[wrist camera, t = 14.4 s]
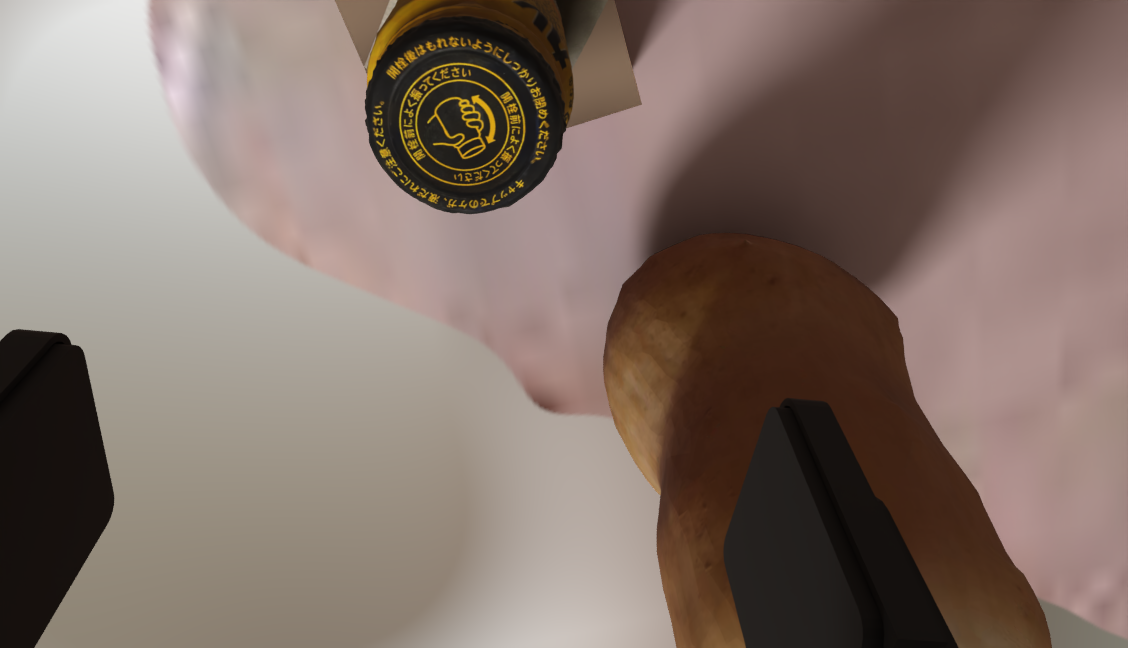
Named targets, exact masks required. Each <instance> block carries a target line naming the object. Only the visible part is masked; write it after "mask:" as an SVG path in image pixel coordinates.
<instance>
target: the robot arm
mask: <svg viewBox="0 0 1128 648" xmlns="http://www.w3.org/2000/svg"><path fill="white" fill-rule="evenodd" d="M113 506H114V492H113V487H112V483H111V478H110V473H109V469H108V464H107V459H106V454H105V449H104V445H103V440H102V436H101V431H100V426H99V422H98V416H97V412H96V407H95V402H94V398H93V393H92V388H91V383H90V379H89V374H88V369H87V364H86V360H85V355H84V352H83V350H82V349H81V348H80V347H79V346H76V345H71V342H70V340H69V338H68V337H67V336H66V335H64V334H62V333H54V332H43V331H31V330H21V329H18V330H12V331H11V332H10V333H8V334H7V335H6V336H5V337H4V338H3V339H2V340H1V341H0V648H34V647H35V645H36V644H37V642H38V640H39V639H40V637H41V635H42V634H43V632H44V630H45V629H46V627H47V625H48V623H49V622H50V620H51V619H52V617H53V615H54V613H55V612H56V610H57V608H58V607H59V605H60V603H61V602H62V600H63V598H64V597H65V595H66V593H67V591H68V590H69V588H70V586H71V585H72V583H73V581H74V580H75V577H76V576H77V575H78V573H79V571H80V570H81V568H82V566H83V564H84V563H85V561H86V559H87V558H88V556H89V554H90V553H91V551H92V549H93V548H94V546H95V544H96V542H97V541H98V539H99V537H100V536H101V534H102V532H103V531H104V529H105V527H106V526H107V524H108V522H109V520H110V518H111V514H112V512H113ZM723 556H724V564H725V568H726V572H727V576H728V580H729V584H730V588H731V591H732V595H733V599H734V603H735V607H736V611H737V615H738V619H739V623H740V627H741V630H742V634H743V638H744V642H745V646H746V648H959V647H958V645H957V643H956V641H955V639H954V637H953V635H952V633H951V631H950V630H949V628H948V626H947V624H946V622H945V620H944V618H943V616H942V614H941V612H940V610H939V608H938V606H937V604H936V602H935V600H934V598H933V596H932V594H931V592H930V590H929V588H928V586H927V584H926V582H925V580H924V579H923V577H922V575H921V573H920V571H919V569H918V567H917V565H916V563H915V561H914V559H913V557H912V555H911V553H910V551H909V549H908V547H907V545H906V543H905V541H904V539H903V537H902V535H901V533H900V531H899V529H898V527H897V526H896V524H895V522H894V520H893V518H892V516H891V514H890V512H889V510H888V508H887V507H886V506H885V504H884V503H883V501H882V500H880V499H878V498H877V497H875V495H874V493H873V491H872V489H871V487H870V485H869V483H868V481H867V479H866V477H865V475H864V473H863V471H862V469H861V467H860V465H859V463H858V461H857V459H856V457H855V455H854V453H853V451H852V449H851V447H850V445H849V443H848V441H847V439H846V437H845V435H844V433H843V431H842V429H841V427H840V425H839V423H838V421H837V419H836V417H835V415H834V413H833V411H832V409H831V407H830V406H829V404H828V403H827V402H825V401H817V400H806V399H794V398H786V399H784V400H783V402H782V403H781V405H780V407H771V408H770V409H769V410H768V412H767V414H766V417H765V420H764V423H763V426H762V429H761V432H760V435H759V438H758V441H757V444H756V447H755V450H754V453H753V456H752V459H751V462H750V465H749V468H748V471H747V474H746V477H745V480H744V483H743V486H742V489H741V492H740V494H739V497H738V500H737V503H736V506H735V509H734V512H733V515H732V518H731V521H730V524H729V527H728V530H727V533H726V536H725V540H724V548H723Z"/></svg>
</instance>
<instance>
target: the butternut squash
mask: <svg viewBox="0 0 1128 648" xmlns="http://www.w3.org/2000/svg"><path fill="white" fill-rule="evenodd" d="M603 372H604V383H605V387H606V392H607V397H608V401H609V406H610V409H611V413H612V416H613V419H614V423H615V426H616V428H617V430H618V432H619V434H620V436H621V437H622V439H623V441H624V443H625V445H626V447H627V449H628V451H629V453H630V455H631V457H632V458H633V460H634V462H635V463H636V465H637V466H638V468H639V469H640V470H641V472H642V473H643V475H644V476H645V478H646V479H647V481H648V482H649V483H650V484H651V486H652V487H653V488H654V489H655V491H656V492H657V493H658V494H660V495H661V496H660V507H659V516H658V523H657V555H658V561H659V567H660V573H661V579H662V584H663V590H664V594H665V598H666V602H667V606H668V610H669V613H670V618H671V622H672V626H673V632H674V637H675V642H676V647H677V648H746V646H745V642H744V638H743V634H742V630H741V627H740V623H739V619H738V615H737V611H736V607H735V603H734V599H733V595H732V591H731V588H730V584H729V580H728V576H727V572H726V568H725V564H724V556H723V548H724V540H725V536H726V533H727V530H728V527H729V524H730V521H731V518H732V515H733V512H734V509H735V506H736V503H737V500H738V497H739V494H740V492H741V489H742V486H743V483H744V480H745V477H746V474H747V471H748V468H749V465H750V462H751V459H752V456H753V453H754V450H755V447H756V444H757V441H758V438H759V435H760V432H761V429H762V426H763V423H764V420H765V417H766V414H767V412H768V410H769V409H770V408H771V407H780V405H781V403H782V402H783V400H784V399H786V398H794V399H806V400H817V401H825V402H827V403H828V404H829V406H830V407H831V409H832V411H833V413H834V415H835V417H836V419H837V421H838V423H839V425H840V427H841V429H842V431H843V433H844V435H845V437H846V439H847V441H848V443H849V445H850V447H851V449H852V451H853V453H854V455H855V457H856V459H857V461H858V463H859V465H860V467H861V469H862V471H863V473H864V475H865V477H866V479H867V481H868V483H869V485H870V487H871V489H872V491H873V493H874V495H875V497H877V498H878V499H880V500H882V501H883V503H884V504H885V506H886V507H887V508H888V510H889V512H890V514H891V516H892V518H893V520H894V522H895V524H896V526H897V527H898V529H899V531H900V533H901V535H902V537H903V539H904V541H905V543H906V545H907V547H908V549H909V551H910V553H911V555H912V557H913V559H914V561H915V563H916V565H917V567H918V569H919V571H920V573H921V575H922V577H923V579H924V580H925V582H926V584H927V586H928V588H929V590H930V592H931V594H932V596H933V598H934V600H935V602H936V604H937V606H938V608H939V610H940V612H941V614H942V616H943V618H944V620H945V622H946V624H947V626H948V628H949V630H950V631H951V633H952V635H953V637H954V639H955V641H956V643H957V645H958V647H959V648H1052V645H1051V638H1050V633H1049V629H1048V625H1047V621H1046V618H1045V614H1044V612H1043V610H1042V608H1041V606H1040V604H1039V602H1038V600H1037V597H1036V595H1035V593H1034V591H1033V589H1032V588H1031V586H1030V584H1029V582H1028V581H1027V579H1026V577H1025V576H1024V574H1023V573H1022V572H1021V571H1020V570H1019V569H1018V568H1016V567H1015V565H1014V563H1013V562H1012V560H1011V559H1010V557H1009V556H1008V554H1007V553H1006V551H1005V549H1004V547H1003V545H1002V543H1001V541H1000V539H999V537H998V535H997V533H996V531H995V529H994V526H993V524H992V522H991V520H990V518H989V516H988V514H987V512H986V510H985V508H984V506H983V503H982V501H981V498H980V496H979V493H978V492H977V490H976V489H975V487H974V486H973V485H972V483H971V482H970V480H969V479H968V477H967V476H966V475H965V473H964V472H963V471H962V469H961V468H960V467H959V465H958V464H957V463H956V461H955V460H954V459H953V457H952V456H951V455H950V453H949V452H948V451H947V449H946V448H945V447H944V446H943V444H942V442H941V441H940V439H939V438H938V436H937V434H936V433H935V431H934V429H933V428H932V426H931V425H930V423H929V421H928V420H927V418H926V416H925V415H924V413H923V411H922V410H921V408H920V407H919V405H918V403H917V402H916V399H915V397H914V394H913V389H912V386H911V382H910V378H909V374H908V371H907V367H906V363H905V356H904V345H903V337H902V335H901V332H900V329H899V324H898V318H897V317H896V316H895V314H894V313H893V312H892V311H891V310H890V308H889V307H888V306H887V305H886V304H885V303H884V302H883V301H882V300H881V299H880V298H879V297H878V296H877V295H876V294H875V293H874V292H872V291H871V290H870V289H869V288H868V287H866V286H865V285H864V284H863V283H861V282H860V281H859V280H858V279H856V278H855V277H854V276H852V275H851V274H849V273H848V272H846V271H845V270H844V269H842V268H841V267H839V266H838V265H836V264H835V263H833V262H832V261H830V260H828V259H826V258H825V257H823V256H821V255H819V254H816V253H814V252H811V251H809V250H806V249H804V248H801V247H799V246H795V245H792V244H789V243H785V242H782V241H779V240H774V239H769V238H764V237H759V236H754V235H749V234H738V233H711V234H703V235H698V236H695V237H692V238H690V239H687V240H685V241H683V242H680V243H678V244H676V245H673V246H671V247H669V248H667V249H664V250H662V251H660V252H658V253H656V254H654V255H652V256H650V257H649V258H648V259H647V260H646V261H645V262H644V264H643V265H642V266H641V267H640V268H639V269H638V270H637V271H636V272H635V273H634V274H633V275H632V276H631V277H630V278H629V279H628V280H627V281H626V282H625V283H624V284H623V285H622V288H621V291H620V293H619V297H618V300H617V303H616V305H615V308H614V310H613V312H612V315H611V317H610V320H609V322H608V326H607V333H606V343H605V350H604V356H603Z"/></svg>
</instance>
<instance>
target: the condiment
mask: <svg viewBox="0 0 1128 648" xmlns="http://www.w3.org/2000/svg"><path fill="white" fill-rule="evenodd" d="M607 1H608V0H390V1H389V3H388V6H387V8H386V11H385V14H384V16H383V19H382V22H381V24H380V27H379V29H378V32H377V34H376V37H375V40H374V43H373V45H372V48H371V50H370V53H369V55H368V58H367V61H366V63H365V66H364V68H366V69H367V90H366V99H365V110H366V115H367V119H366V120H365V123H366V126H367V130H368V133H369V143H370V146H371V148H372V151H373V153H374V155H375V157H376V159H377V160H378V162H379V164H380V165H381V167H382V168H383V169H384V170H385V172H386V173H387V174H388V175H389V177H390V178H391V179H392V180H393V181H394V182H395V183H396V184H397V185H398V186H399V187H400V188H401V189H402V190H404V191H405V192H406V193H408V194H409V195H411V196H412V197H414V198H416V199H418V200H419V201H421V202H423V203H425V204H427V205H429V206H431V207H433V208H435V209H438V210H442V211H444V212H450V213H464V214H476V213H483V212H488V211H492V210H495V209H498V208H503V207H509V206H511V205H512V204H514V203H515V202H517V201H518V200H519V199H521V198H523V197H524V196H525V195H527V194H528V193H529V192H531V191H532V190H533V189H534V188H535V187H536V186H537V185H539V184H540V183H541V182H542V181H543V180H544V178H545V177H546V175H547V173H548V172H549V170H550V169H551V168H552V167H553V165H554V162H555V160H556V158H557V153H558V152H559V151H560V150H561V148H562V139H563V133H564V132H565V131H566V127H567V124H568V122H569V120H570V115H571V112H572V108H573V100H574V84H573V73H572V69H573V67H574V65H575V63H576V61H577V59H578V57H579V56H580V54H581V52H582V50H583V48H584V46H585V44H586V42H587V41H588V39H589V37H590V35H591V33H592V30H593V28H594V26H595V24H596V22H597V20H598V19H599V17H600V15H601V13H602V11H603V9H604V7H605V5H606V3H607Z"/></svg>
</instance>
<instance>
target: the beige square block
mask: <svg viewBox="0 0 1128 648" xmlns="http://www.w3.org/2000/svg"><path fill="white" fill-rule="evenodd" d="M389 1H390V0H335V2H336V4H337V6H338V8H339V11H340V13H341V15H342V18H343V20H344V22H345V24H346V27H347V29H348V31H349V34H350V36H351V38H352V40H353V43H354V45H355V47H356V50H357V52H358V54H359V56H360V59H361V61H362V63H363V66H365V63H366V61H367V58H368V55H369V53H370V50H371V48H372V45H373V43H374V40H375V37H376V34H377V32H378V29H379V27H380V24H381V22H382V19H383V16H384V14H385V11H386V8H387V6H388V3H389ZM365 70H366V73H367V69H366V68H365ZM572 73H573V84H574V100H573V108H572V112H571V115H570V120H569V122H568V124H567V127H566V128H569V127H572V126H575V125H578V124H581V123H585V122H588V121H591V120H594V119H597V118H600V117H604V116H607V115H610V114H613V113H616V112H619V111H623V110H626V109H629V108H632V107H635V106H638V105H642V103H641V100H640V96H639V92H638V88H637V84H636V80H635V77H634V73H633V69H632V65H631V61H630V57H629V54H628V50H627V46H626V42H625V38H624V34H623V31H622V27H621V23H620V19H619V15H618V12H617V8H616V4H615V0H608V1H607V3H606V5H605V7H604V9H603V11H602V13H601V15H600V17H599V19H598V20H597V22H596V24H595V26H594V28H593V30H592V33H591V35H590V37H589V39H588V41H587V42H586V44H585V46H584V48H583V50H582V52H581V54H580V56H579V57H578V59H577V61H576V63H575V65H574V67H573V69H572Z"/></svg>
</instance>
